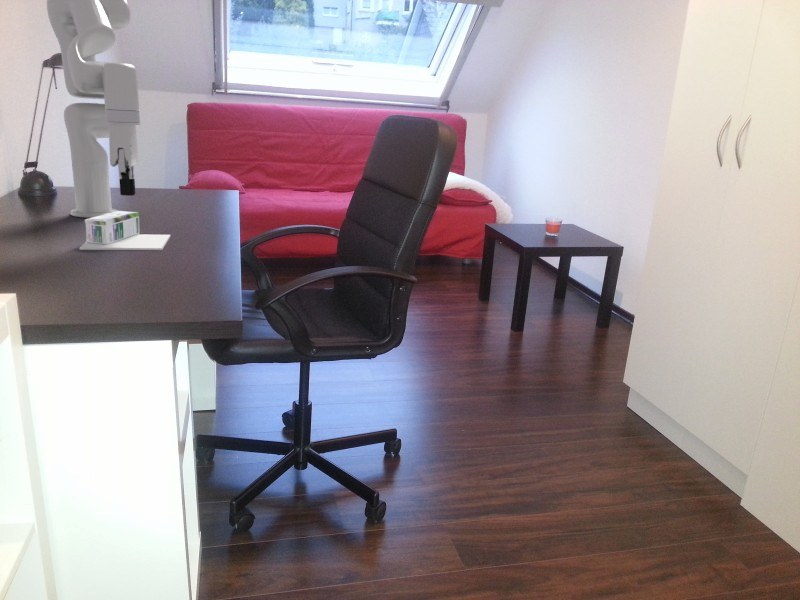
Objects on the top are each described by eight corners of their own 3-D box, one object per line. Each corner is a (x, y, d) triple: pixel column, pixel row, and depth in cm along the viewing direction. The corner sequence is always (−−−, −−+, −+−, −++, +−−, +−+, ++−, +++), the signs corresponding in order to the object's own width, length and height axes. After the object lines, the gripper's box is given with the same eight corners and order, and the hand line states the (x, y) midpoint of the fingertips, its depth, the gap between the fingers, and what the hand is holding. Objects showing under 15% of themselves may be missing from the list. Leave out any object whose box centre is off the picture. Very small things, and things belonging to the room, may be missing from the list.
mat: (95, 235, 164) (95, 233, 164) (170, 236, 168) (170, 234, 167) (79, 249, 149) (79, 247, 149) (161, 250, 153) (161, 248, 152)
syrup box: (140, 234, 166) (108, 245, 153) (119, 232, 167) (85, 242, 153) (139, 212, 165) (106, 221, 151) (117, 210, 166) (83, 219, 152)
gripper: (112, 116, 160) (117, 190, 165) (98, 118, 146) (105, 199, 151) (144, 117, 162) (148, 191, 167) (133, 119, 148) (139, 199, 153)
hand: (128, 194), depth 159 cm, fingers closed
